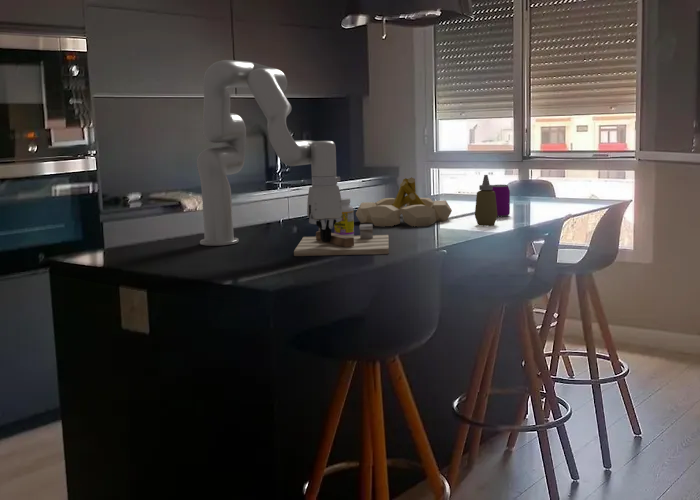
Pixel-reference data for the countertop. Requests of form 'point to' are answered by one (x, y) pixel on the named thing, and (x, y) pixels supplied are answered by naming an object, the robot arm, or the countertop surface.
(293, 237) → the countertop surface
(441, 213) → the campfire
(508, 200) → the beverage can
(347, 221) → the supplement bottle
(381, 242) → the hinge board
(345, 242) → the link
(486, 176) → the squeeze bottle
